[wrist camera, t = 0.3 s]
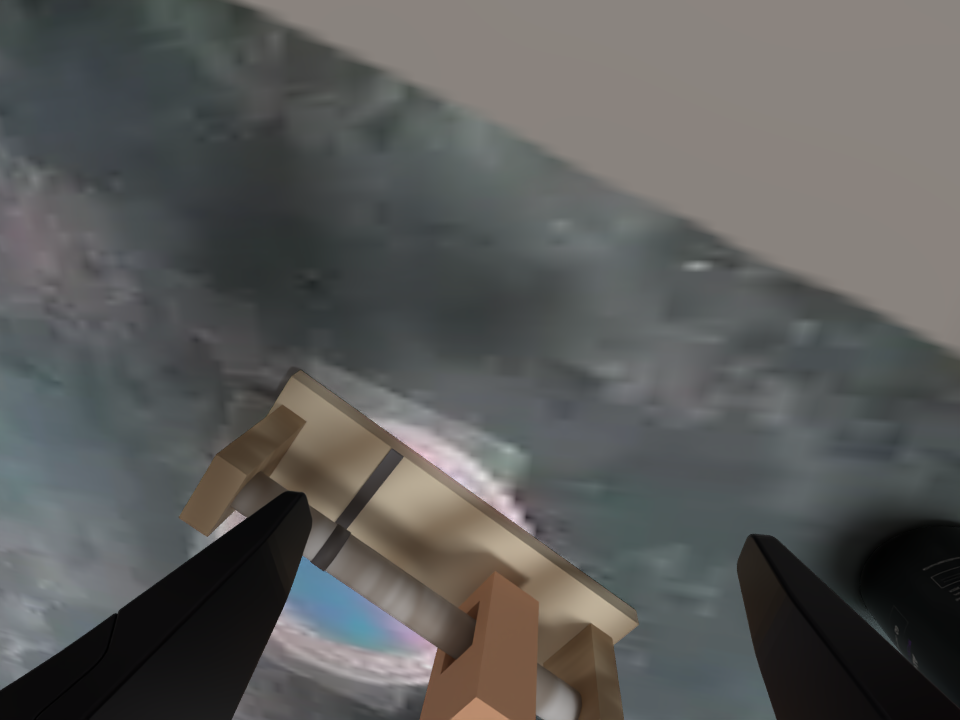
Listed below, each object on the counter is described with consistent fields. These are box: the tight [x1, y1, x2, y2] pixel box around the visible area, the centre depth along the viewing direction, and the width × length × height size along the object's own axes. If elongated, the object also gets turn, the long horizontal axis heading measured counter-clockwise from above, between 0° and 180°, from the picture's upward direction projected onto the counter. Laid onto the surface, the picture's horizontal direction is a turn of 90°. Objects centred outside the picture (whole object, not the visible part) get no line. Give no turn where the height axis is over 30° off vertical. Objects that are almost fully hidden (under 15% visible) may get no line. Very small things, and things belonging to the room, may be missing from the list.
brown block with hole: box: [420, 571, 539, 720], centre depth 23 cm, size 3×5×7 cm, turn 144°
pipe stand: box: [179, 370, 639, 720], centre depth 26 cm, size 24×8×6 cm, turn 54°
